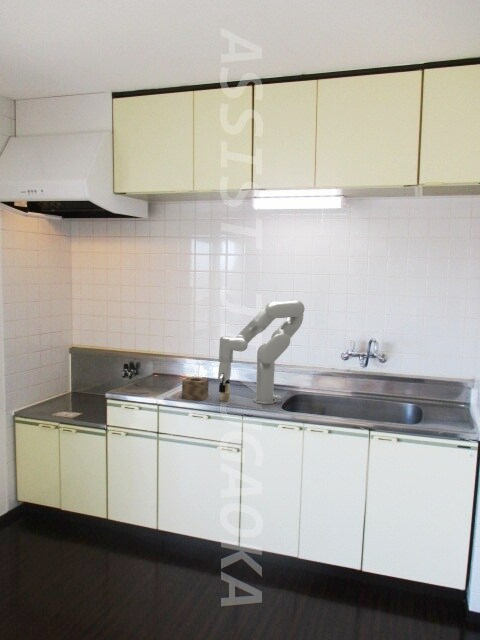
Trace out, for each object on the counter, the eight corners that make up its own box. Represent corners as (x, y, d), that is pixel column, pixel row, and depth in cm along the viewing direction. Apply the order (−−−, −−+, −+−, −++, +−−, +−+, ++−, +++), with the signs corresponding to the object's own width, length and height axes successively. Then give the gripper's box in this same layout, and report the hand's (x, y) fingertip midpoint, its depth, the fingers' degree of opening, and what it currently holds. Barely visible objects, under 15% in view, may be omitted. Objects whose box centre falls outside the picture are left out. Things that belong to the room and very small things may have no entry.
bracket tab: (229, 399, 284) (230, 383, 283) (228, 401, 281) (228, 384, 280) (221, 399, 285) (222, 383, 284) (220, 400, 282) (220, 384, 281)
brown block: (208, 396, 290) (208, 378, 289) (202, 400, 280) (203, 382, 279) (187, 394, 293) (188, 377, 292) (181, 398, 283) (182, 380, 282)
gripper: (223, 356, 290) (221, 386, 291) (214, 361, 273) (213, 393, 275) (236, 357, 288) (234, 387, 290) (228, 362, 271) (226, 394, 273)
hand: (224, 390), depth 282 cm, fingers open, 9 cm apart
